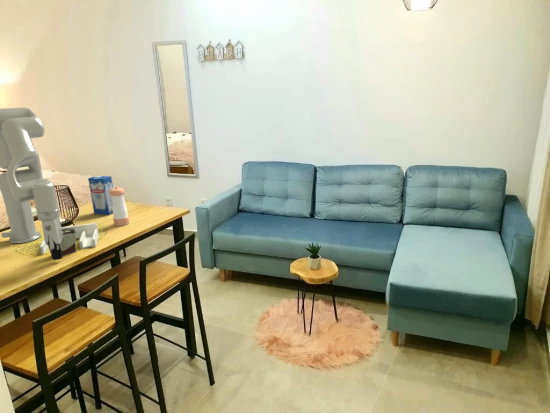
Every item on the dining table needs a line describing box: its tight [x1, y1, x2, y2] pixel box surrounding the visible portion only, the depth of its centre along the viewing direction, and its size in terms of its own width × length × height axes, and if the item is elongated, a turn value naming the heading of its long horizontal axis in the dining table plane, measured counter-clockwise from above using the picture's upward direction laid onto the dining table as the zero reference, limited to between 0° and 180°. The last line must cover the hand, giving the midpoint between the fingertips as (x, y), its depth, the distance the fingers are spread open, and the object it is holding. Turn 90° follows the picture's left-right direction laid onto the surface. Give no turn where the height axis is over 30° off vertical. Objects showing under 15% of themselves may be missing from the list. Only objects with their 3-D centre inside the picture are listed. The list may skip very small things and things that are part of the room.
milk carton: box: [87, 175, 114, 216], centre depth 221 cm, size 10×6×20 cm, turn 73°
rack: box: [39, 222, 99, 255], centre depth 178 cm, size 21×16×6 cm
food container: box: [43, 228, 77, 260], centre depth 168 cm, size 12×6×10 cm, turn 141°
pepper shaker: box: [110, 186, 130, 227], centre depth 202 cm, size 7×7×19 cm
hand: (57, 258), depth 161 cm, fingers closed
